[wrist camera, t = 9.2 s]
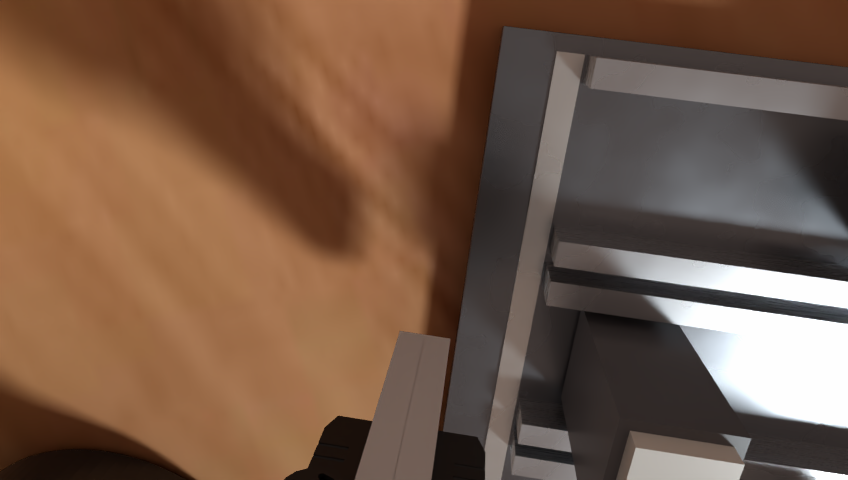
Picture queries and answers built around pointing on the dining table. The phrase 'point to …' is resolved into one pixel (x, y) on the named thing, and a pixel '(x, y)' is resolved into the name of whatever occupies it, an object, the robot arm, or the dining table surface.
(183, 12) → the dining table surface
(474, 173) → the dining table surface
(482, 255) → the panel
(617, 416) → the block
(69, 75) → the dining table surface
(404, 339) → the robot arm
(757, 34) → the dining table surface
